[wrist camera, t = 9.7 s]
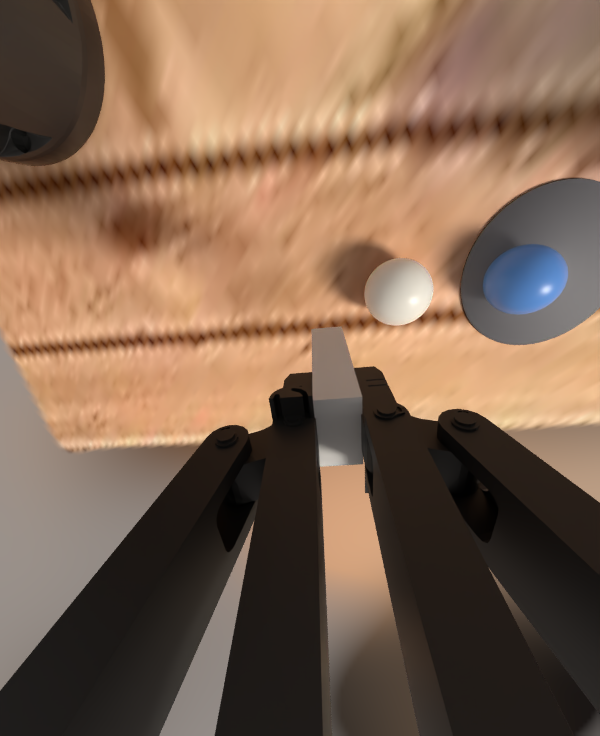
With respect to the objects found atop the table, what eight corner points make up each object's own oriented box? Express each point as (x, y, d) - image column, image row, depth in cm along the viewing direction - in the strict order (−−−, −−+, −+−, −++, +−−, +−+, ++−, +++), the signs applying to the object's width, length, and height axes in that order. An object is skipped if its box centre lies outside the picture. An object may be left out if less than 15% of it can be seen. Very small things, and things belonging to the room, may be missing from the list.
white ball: (460, 299, 22) (428, 287, 27) (418, 243, 20) (393, 241, 25) (401, 347, 24) (382, 327, 29) (358, 298, 22) (346, 287, 27)
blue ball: (522, 301, 21) (600, 291, 20) (501, 233, 22) (575, 223, 22) (478, 327, 26) (539, 320, 26) (463, 272, 27) (522, 264, 27)
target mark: (428, 295, 27) (429, 296, 27) (560, 136, 22) (562, 136, 22) (529, 368, 30) (530, 368, 30) (668, 244, 25) (671, 244, 24)
